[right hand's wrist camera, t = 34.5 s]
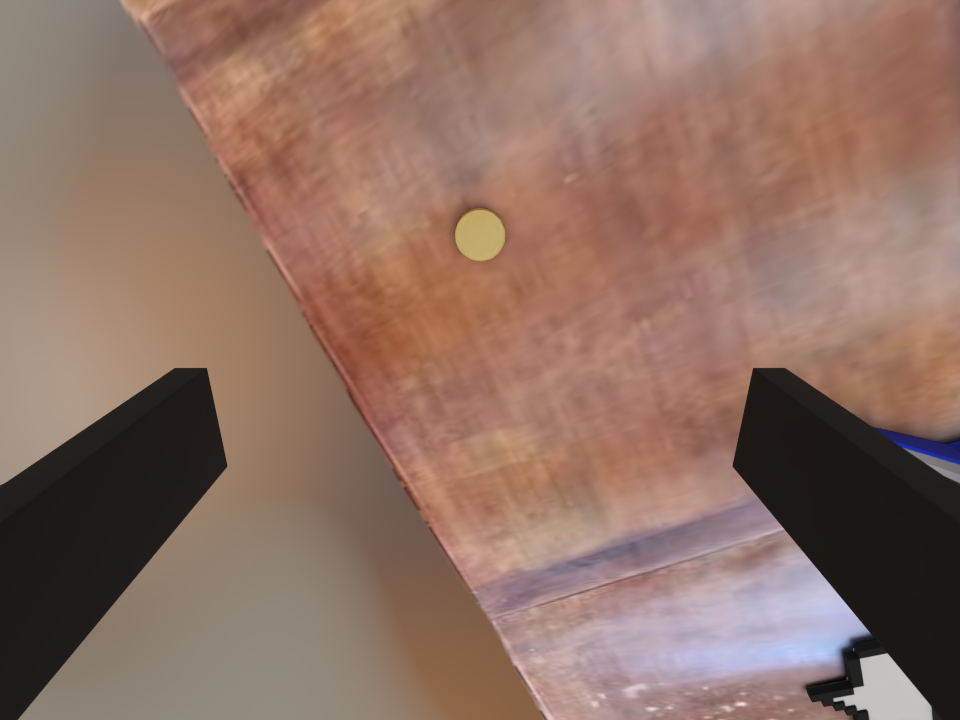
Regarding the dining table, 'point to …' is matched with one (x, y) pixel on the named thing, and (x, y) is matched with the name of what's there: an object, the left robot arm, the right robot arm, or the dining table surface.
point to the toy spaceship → (931, 453)
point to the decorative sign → (874, 688)
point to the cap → (480, 234)
